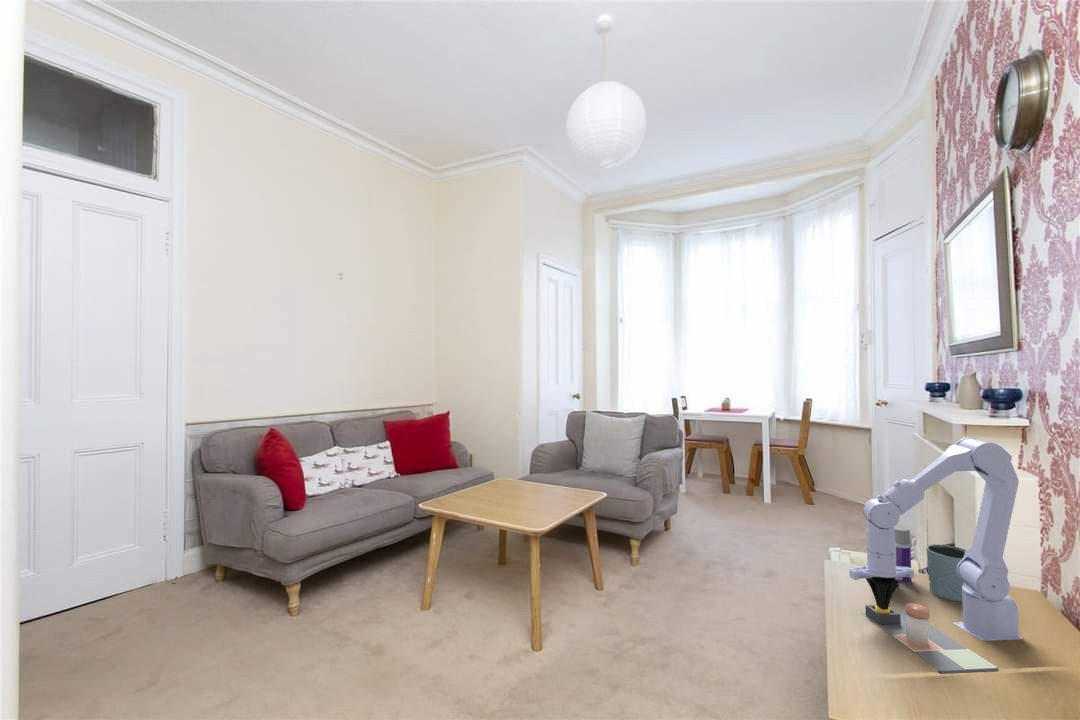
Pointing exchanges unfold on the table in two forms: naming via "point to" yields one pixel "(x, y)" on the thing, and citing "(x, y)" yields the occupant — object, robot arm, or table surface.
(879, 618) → the button housing
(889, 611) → the button
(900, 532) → the container
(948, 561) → the teal plant pot
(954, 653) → the colouring board
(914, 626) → the white cylinder
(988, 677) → the table surface
